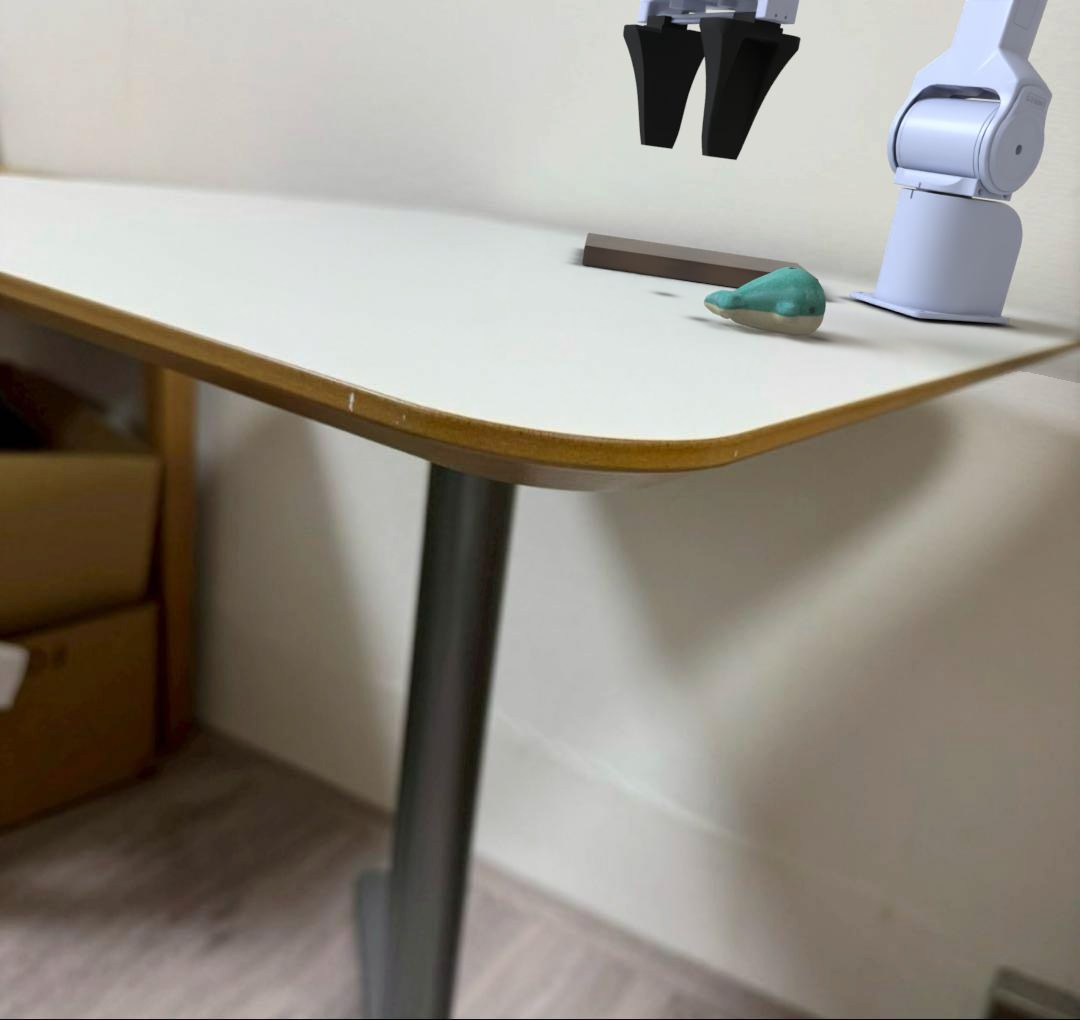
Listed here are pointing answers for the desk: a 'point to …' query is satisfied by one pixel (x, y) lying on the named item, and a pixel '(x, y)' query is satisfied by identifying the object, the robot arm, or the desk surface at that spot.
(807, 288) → the whale figurine
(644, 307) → the desk surface
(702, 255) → the walnut board
